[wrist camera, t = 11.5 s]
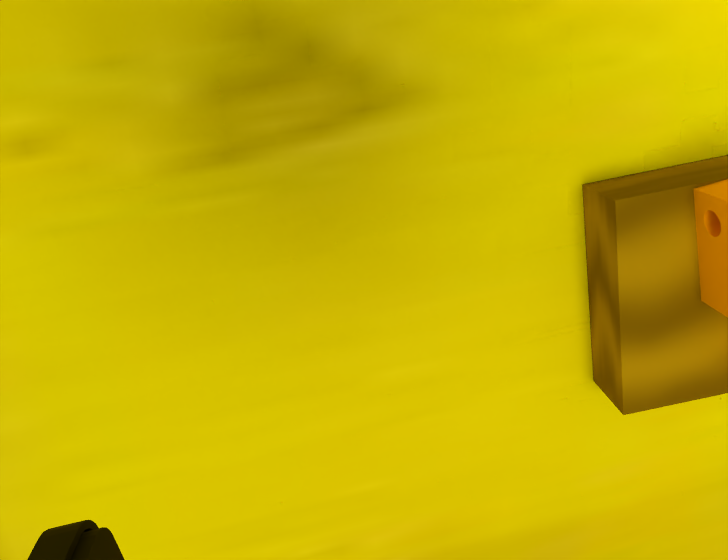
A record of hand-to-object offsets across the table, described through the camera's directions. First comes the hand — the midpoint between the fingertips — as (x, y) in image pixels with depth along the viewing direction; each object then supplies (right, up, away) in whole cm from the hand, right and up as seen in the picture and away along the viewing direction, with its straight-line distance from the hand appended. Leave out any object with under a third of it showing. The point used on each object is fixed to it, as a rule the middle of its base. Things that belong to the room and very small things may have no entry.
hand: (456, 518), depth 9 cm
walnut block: (+19, +4, +29) cm, 35 cm away
